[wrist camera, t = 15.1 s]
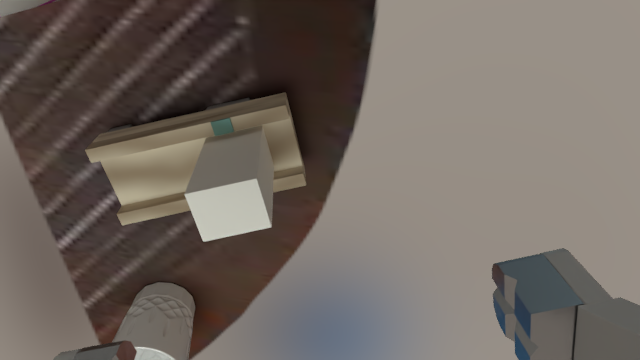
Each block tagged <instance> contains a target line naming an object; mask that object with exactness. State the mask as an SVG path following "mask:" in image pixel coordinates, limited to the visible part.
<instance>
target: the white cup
mask: <svg viewBox="0 0 640 360" xmlns="http://www.w3.org/2000/svg"><path fill="white" fill-rule="evenodd" d="M194 313H195V303H194V300H193V297H192V296H191V295H190V294H189V293H188V292H187V291H186V290H185V289H184V288H183V287H180V286H178V285H175V284H173V283H164V282H157V283H154V284H151V285H148V286H145V287H144V288H143V289H142V290H141V291H140V292H139V293H138V294H137V295H136V297H135V299H134V301H133V304H132V306H131V308H130V309H129V311H128V312H127V314H126V316H125V318H124V320H123V322H122V324H121V325H120V327H119V329H118V331H117V333H116V335H115V337H114V340H113V342H119V341H124V340H125V341H131V343H132V344H133V346H134V347H135V349H136V351H137V353H136V356H135V359H134V360H188V356H189V350H190V344H191V337H192V330H193V318H194ZM113 342H112V343H113Z"/></svg>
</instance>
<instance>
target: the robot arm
mask: <svg viewBox="0 0 640 360" xmlns="http://www.w3.org/2000/svg"><path fill="white" fill-rule="evenodd" d="M492 279H493V280H494V282H495V284H496V285H497V289H496V290H495V291H494V293H493V303H494V308H495V313H496V317H497V320H498V322H499V324H500V327H501V329H502V330H503V332H504V334H505V336H506V337H507V338H509V339H511V340H513V341H514V342H515V354H516V356H517V358H518V359H519V360H640V306H639V305H637V304H635V303H632V302H630V301H627V300H625V299H623V298H615V299H613V298H612V297H611V296H610V295H609V294H608V293H607V292H606V291H605V290H604V289H603V288H602V287H601V285H600V284H599V283H598V282H597V281H596V280H595V279H594V278H593V277H592V276H591V275H590V274H589V273H588V272H587V270H586V269H585V268H584V267H583V266H582V265H581V264H580V263H579V262H578V261H577V260H576V259H575V258H574V257H573V255H572V254H571V253H570V252H569V251H568V250H566V249H564V248H562V249H557V250H553V251H549V252H544V253H540V254H536V255H532V256H527V257H522V258H518V259H513V260H508V261H504V262H499V263H495V264H493V268H492ZM136 353H137V351H136V349H135V347H134V346H133V344H132V343H131V341H125V340H124V341H119V342H113V343H108V344H102V345H97V346H91V347H87V348H82V349H78V350H72V351H67V352H61V353H60V354H58V355H57V356H56V357H55V358H54V360H134V359H135V356H136Z"/></svg>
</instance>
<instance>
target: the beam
mask: <svg viewBox="0 0 640 360" xmlns="http://www.w3.org/2000/svg"><path fill="white" fill-rule="evenodd" d="M261 125H262V126H263V129H264V133H265V136H266V140H267V143H268V147H269V150H270V154H271V157H272V161H273V164H274V178H273V192H277V191H282V190H286V189H291V188H296V187H300V186H305V185H306V177H305V167H304V163H303V159H302V155H301V151H300V147H299V143H298V139H297V135H296V131H295V127H294V123H293V119H292V115H291V111H290V107H289V103H288V99H287V95H286V92H285V93H281V94H276V95H272V96H267V97H263V98H258V99H254V100H250V98H244V99H240V100H236V101H231V102H227V103H222V104H218V105H213V106H209V107H207V109H206V110H205V111H201V112H196V113H192V114H187V115H183V116H178V117H174V118H170V119H165V120H161V121H156V122H152V123H147V124H143V125H139V126H134V127H132V124H129V125H125V126H120V127H116V128H111V129H110V130H109V131H108V132H107V133H103V134H100V135H99V136H98V137H97V138H96V139H95V140H94V141H93V142H92V143H91V144H90V145H89V146H88V147H87V148H86V150H85V151H86V153H87V155H88V157H89V159H90V161H91V163H93V162H98V161H101V164H102V166H103V168H104V170H105V172H106V174H107V176H108V178H109V180H110V182H111V184H112V186H113V188H114V190H115V193H116V195H117V197H118V199H119V201H120V203H121V205H122V206H121V208H120V210H119V211H118V213H117V216H118V218H119V220H120V222H121V224H122V225H126V224H131V223H135V222H140V221H144V220H149V219H154V218H158V217H163V216H167V215H172V214H176V213H181V212H186V211H190V207H189V205H188V202H187V200H186V197H185V195H184V194H185V191H186V189H187V186H188V183H189V181H190V178H191V176H192V173H193V170H194V168H195V165H196V163H197V160H198V157H199V155H200V152H201V150H202V147H203V144H204V142H205V139H206V138H207V137H211V136H219V135H223V134H228V133H232V132H234V131H238V130H243V129H247V128H252V127H256V126H261Z"/></svg>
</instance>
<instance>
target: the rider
mask: <svg viewBox="0 0 640 360" xmlns="http://www.w3.org/2000/svg"><path fill="white" fill-rule="evenodd" d="M273 178H274V164H273V161H272V157H271V154H270V150H269V147H268V143H267V140H266V136H265V133H264V129H263V126H262V125H261V126H256V127H252V128H247V129H243V130H238V131H234V132H232V133H228V134H223V135H219V136H211V137H207V138H206V139H205V142H204V144H203V147H202V150H201V152H200V155H199V157H198V160H197V163H196V165H195V168H194V170H193V173H192V176H191V178H190V181H189V183H188V186H187V189H186V191H185V194H184V195H185V197H186V200H187V202H188V205H189V207H190V210H191V212H192V215H193V217H194V220H195V222H196V225H197V227H198V230H199V232H200V235H201V237H202V240H203V242H205V241H210V240H214V239H219V238H224V237H228V236H233V235H237V234H242V233H247V232H251V231H256V230H261V229H265V228H270V227H272V204H273Z"/></svg>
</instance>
